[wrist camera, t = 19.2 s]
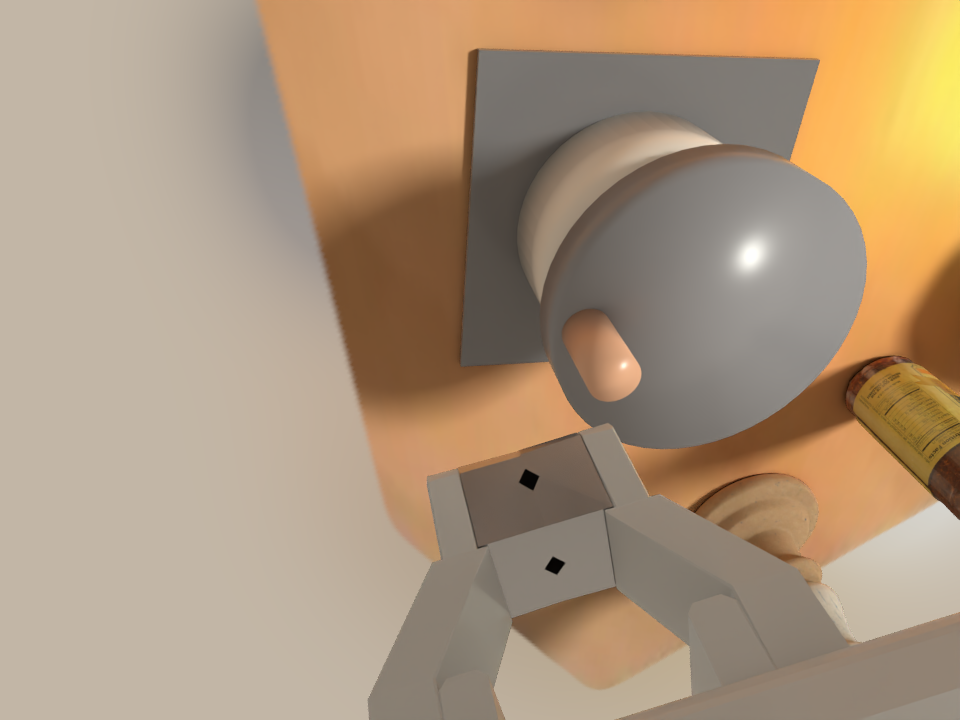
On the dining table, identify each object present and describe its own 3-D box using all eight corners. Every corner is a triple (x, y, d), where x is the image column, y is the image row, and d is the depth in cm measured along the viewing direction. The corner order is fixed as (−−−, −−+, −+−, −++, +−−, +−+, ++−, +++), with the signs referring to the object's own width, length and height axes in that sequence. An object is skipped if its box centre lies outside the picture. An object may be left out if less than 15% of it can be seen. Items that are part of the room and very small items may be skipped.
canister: (477, 48, 38) (519, 94, 31) (816, 58, 42) (928, 101, 34) (459, 363, 49) (486, 454, 42) (729, 348, 53) (799, 429, 45)
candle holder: (660, 520, 63) (784, 753, 46) (789, 448, 60) (966, 664, 44) (709, 587, 69) (832, 810, 53) (827, 524, 67) (992, 735, 51)
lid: (877, 143, 35) (984, 195, 29) (782, 407, 44) (850, 485, 38) (558, 144, 32) (610, 202, 26) (525, 427, 41) (559, 515, 35)
